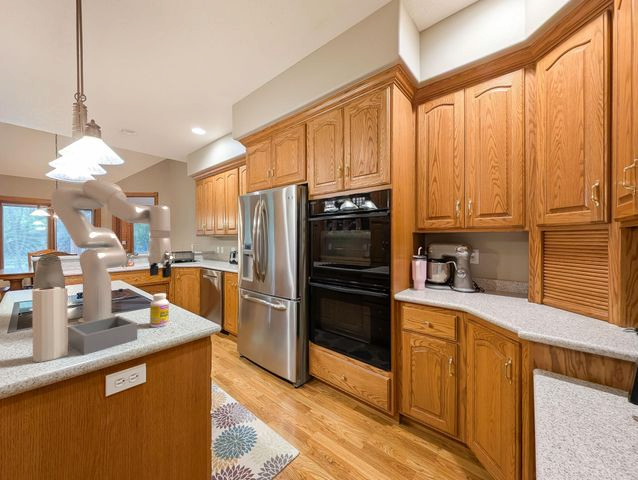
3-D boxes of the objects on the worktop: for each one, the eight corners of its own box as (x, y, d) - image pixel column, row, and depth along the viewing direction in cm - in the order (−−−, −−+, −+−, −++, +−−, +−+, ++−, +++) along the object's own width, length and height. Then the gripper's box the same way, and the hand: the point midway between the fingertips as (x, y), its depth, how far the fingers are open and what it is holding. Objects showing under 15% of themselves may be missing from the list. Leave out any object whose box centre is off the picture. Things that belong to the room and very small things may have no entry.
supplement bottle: (160, 328, 108) (160, 296, 108) (146, 326, 109) (146, 295, 109) (172, 323, 114) (172, 293, 114) (159, 321, 116) (159, 292, 115)
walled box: (67, 344, 92) (67, 326, 91) (118, 331, 104) (118, 315, 104) (84, 355, 84) (84, 336, 83) (137, 339, 96) (137, 323, 96)
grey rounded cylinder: (31, 317, 119) (30, 254, 119) (62, 312, 128) (61, 253, 127) (35, 321, 114) (35, 256, 113) (68, 316, 122) (67, 254, 121)
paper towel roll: (28, 360, 80) (27, 289, 79) (54, 352, 85) (54, 285, 85) (41, 365, 77) (41, 291, 77) (67, 356, 83) (67, 287, 82)
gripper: (139, 235, 113) (140, 275, 113) (161, 235, 103) (162, 279, 104) (158, 235, 119) (158, 273, 119) (180, 235, 110) (180, 276, 110)
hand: (160, 276), depth 111 cm, fingers open, 9 cm apart
